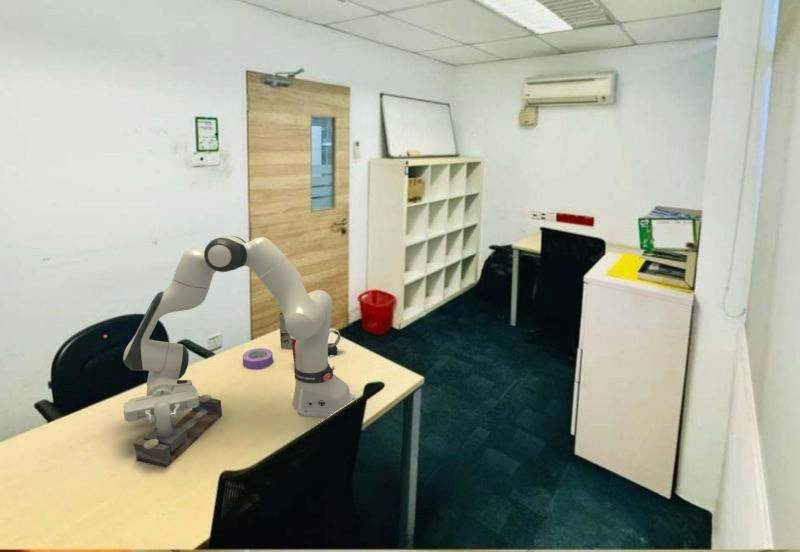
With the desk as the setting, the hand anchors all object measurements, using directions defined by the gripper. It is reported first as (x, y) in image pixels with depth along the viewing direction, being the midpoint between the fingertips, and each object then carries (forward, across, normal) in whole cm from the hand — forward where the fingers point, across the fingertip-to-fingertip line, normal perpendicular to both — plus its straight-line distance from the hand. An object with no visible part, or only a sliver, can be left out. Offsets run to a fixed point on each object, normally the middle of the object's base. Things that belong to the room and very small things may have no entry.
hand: (163, 418), depth 133 cm
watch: (-41, +64, +12) cm, 77 cm away
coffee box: (-56, +50, +12) cm, 76 cm away
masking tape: (-45, +34, +12) cm, 58 cm away
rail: (-6, +4, +12) cm, 14 cm away
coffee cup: (-35, +50, +12) cm, 62 cm away
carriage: (-1, 0, +9) cm, 9 cm away
